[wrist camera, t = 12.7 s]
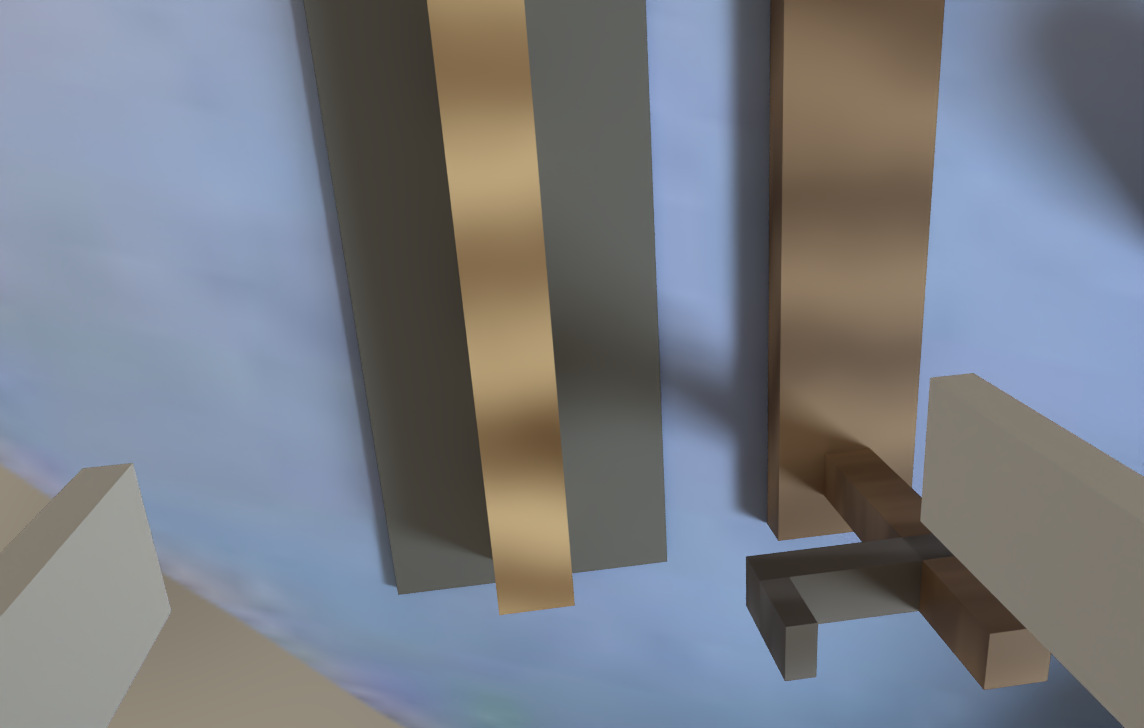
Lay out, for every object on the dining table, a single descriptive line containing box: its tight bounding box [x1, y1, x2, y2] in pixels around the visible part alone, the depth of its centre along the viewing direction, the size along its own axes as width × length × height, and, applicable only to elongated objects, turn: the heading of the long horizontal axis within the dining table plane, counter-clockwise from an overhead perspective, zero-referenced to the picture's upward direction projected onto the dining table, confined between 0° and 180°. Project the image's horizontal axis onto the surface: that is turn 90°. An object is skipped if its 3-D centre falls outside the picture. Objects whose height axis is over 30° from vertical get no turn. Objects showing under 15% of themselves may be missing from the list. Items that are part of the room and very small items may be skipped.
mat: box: [303, 0, 667, 595], centre depth 34 cm, size 30×12×1 cm, turn 4°
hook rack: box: [746, 0, 1051, 690], centre depth 29 cm, size 28×10×14 cm, turn 4°
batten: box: [427, 0, 575, 615], centre depth 32 cm, size 28×3×4 cm, turn 4°
